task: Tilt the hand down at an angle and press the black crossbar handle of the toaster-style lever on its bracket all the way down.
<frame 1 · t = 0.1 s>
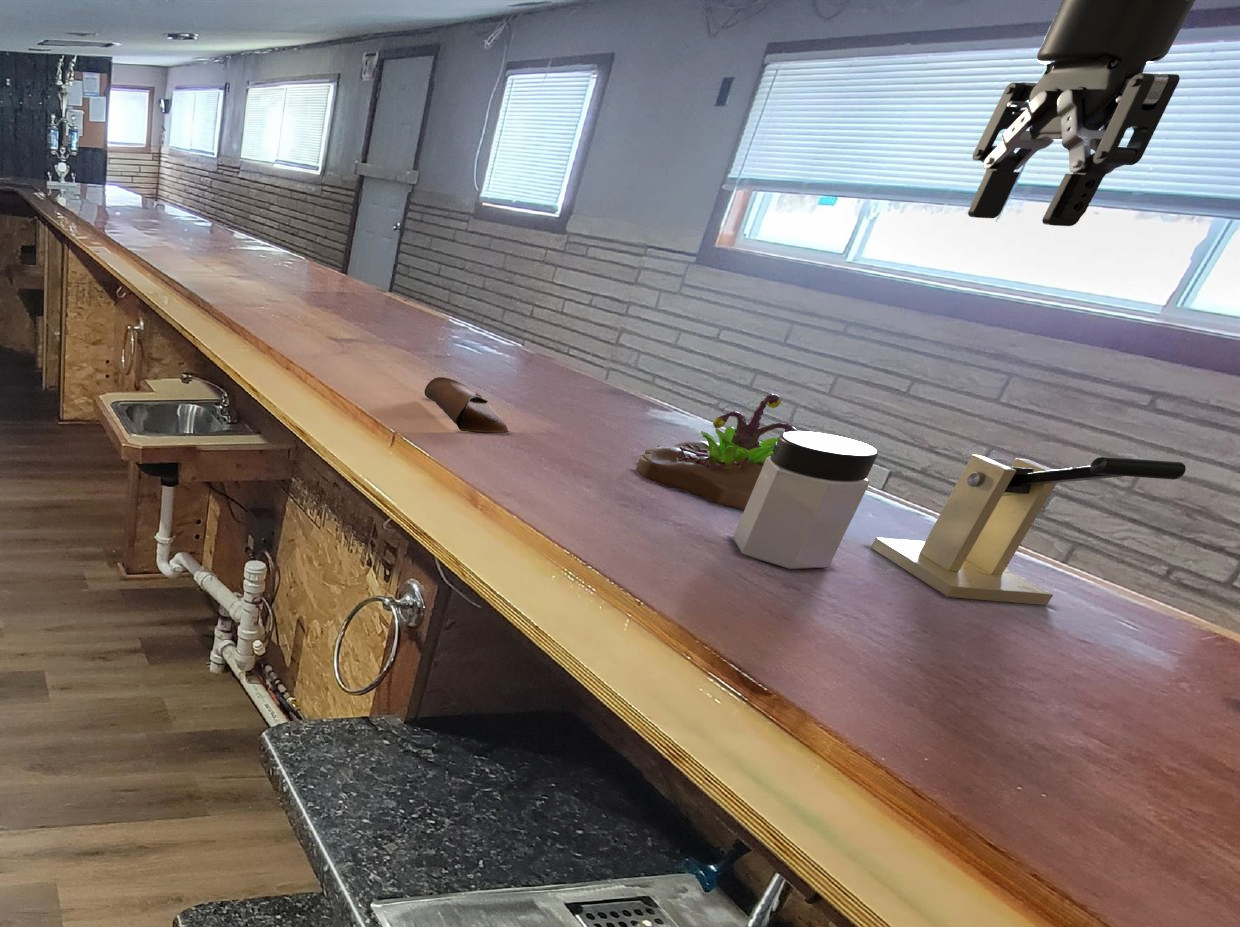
hand: (1017, 221, 77), 32 cm above the counter, tool pointing down, fingers open, 8 cm apart
lever: (1063, 475, 81), point 12 cm above the counter, hinge at 25.0°
sunglasses case: (463, 417, 137), on the counter
bracket: (953, 574, 91), on the counter
plant: (731, 485, 114), on the counter
jar: (777, 555, 94), on the counter
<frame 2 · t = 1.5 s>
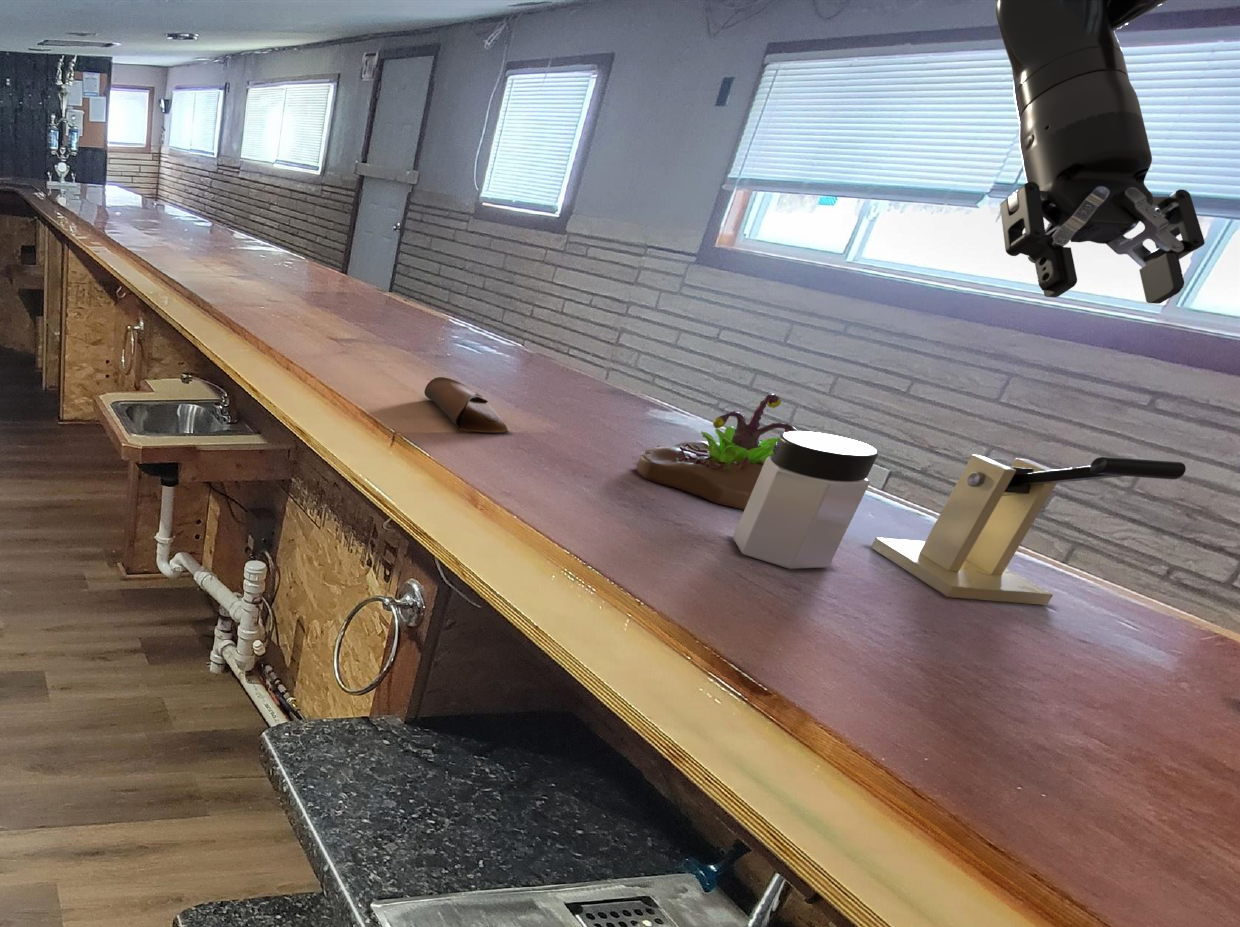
hand: (1113, 294, 78), 27 cm above the counter, tool tilted 45°, fingers open, 8 cm apart
nothing on the counter moved.
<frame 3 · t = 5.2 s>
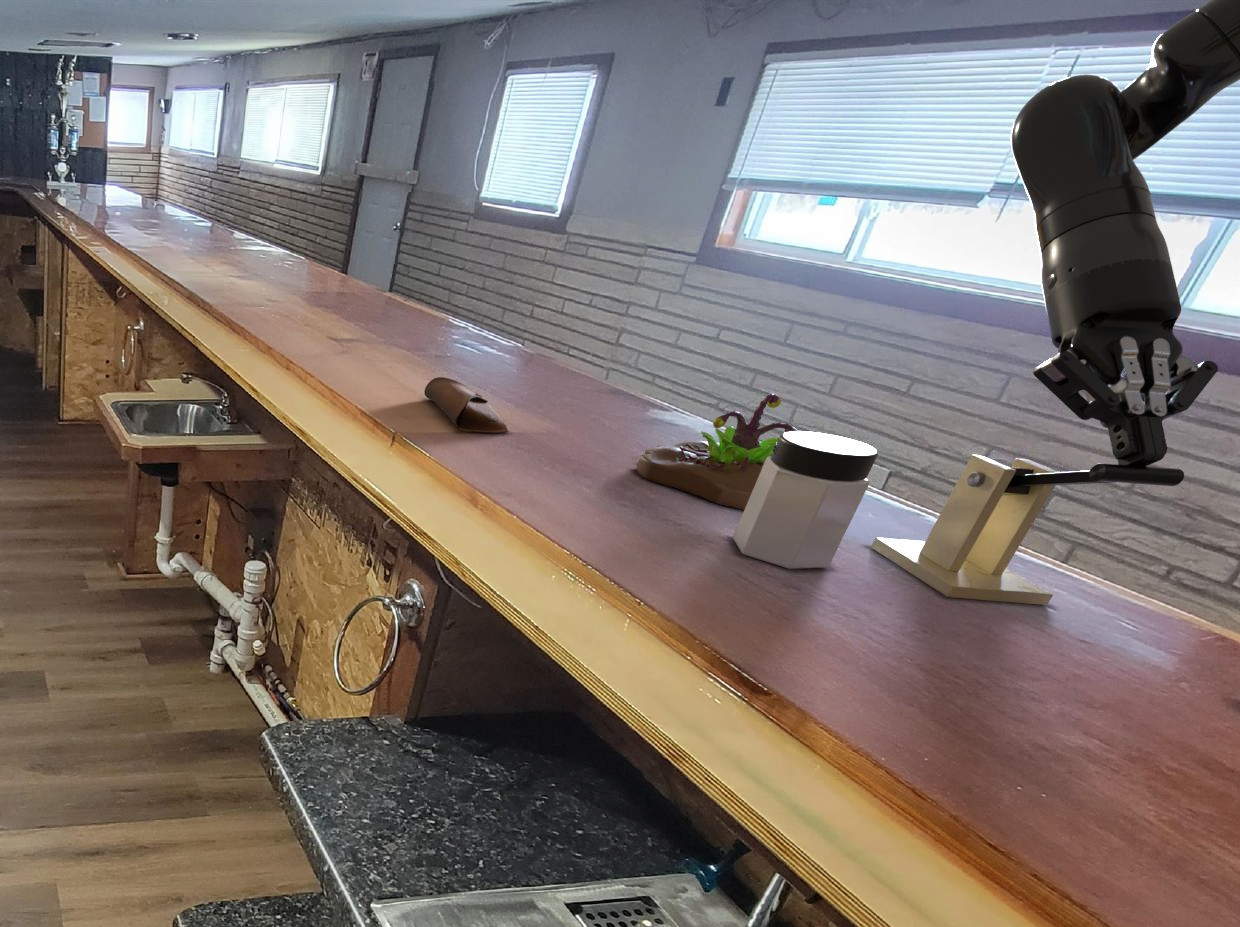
hand: (1142, 462, 74), 16 cm above the counter, tool tilted 45°, fingers closed
lever: (1062, 478, 81), point 12 cm above the counter, hinge at 22.3°, touching gripper
everything else where it was.
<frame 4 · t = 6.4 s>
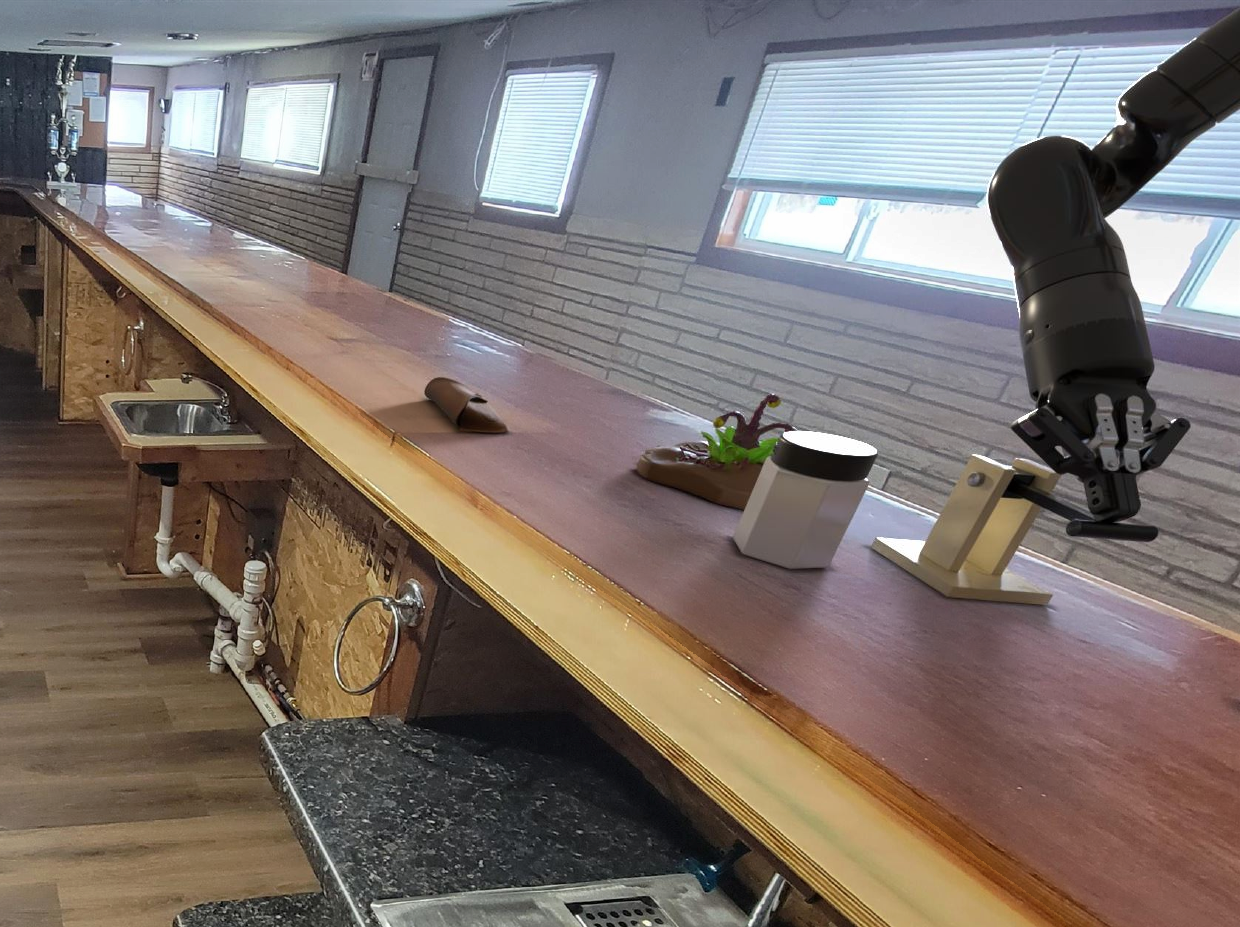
hand: (1117, 518, 76), 11 cm above the counter, tool tilted 45°, fingers closed
lever: (1052, 503, 82), point 10 cm above the counter, hinge at -0.7°, touching gripper
everything else where it was.
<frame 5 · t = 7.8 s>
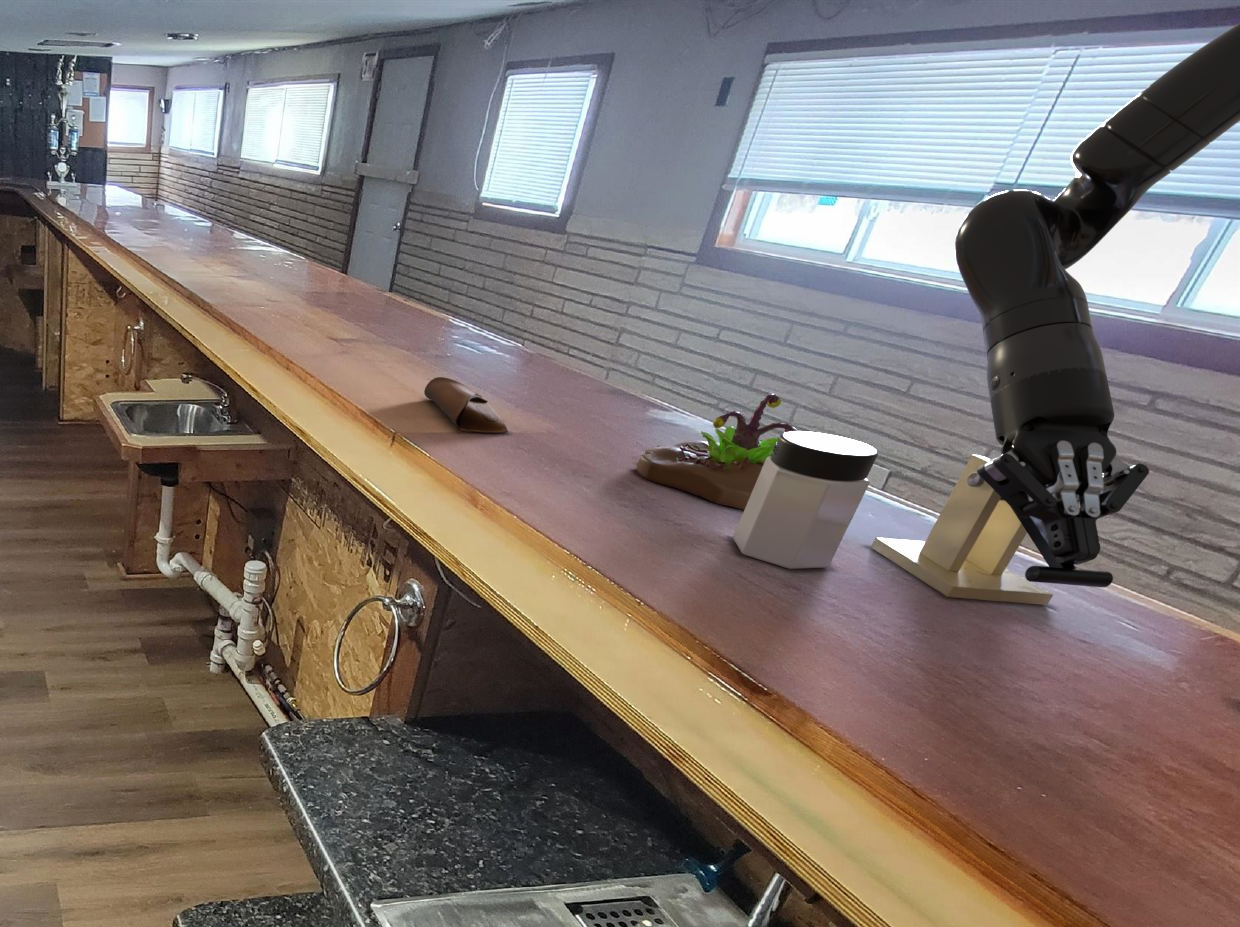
hand: (1077, 561, 79), 7 cm above the counter, tool tilted 45°, fingers closed
lever: (1034, 524, 83), point 8 cm above the counter, hinge at -24.4°, touching gripper
everything else where it was.
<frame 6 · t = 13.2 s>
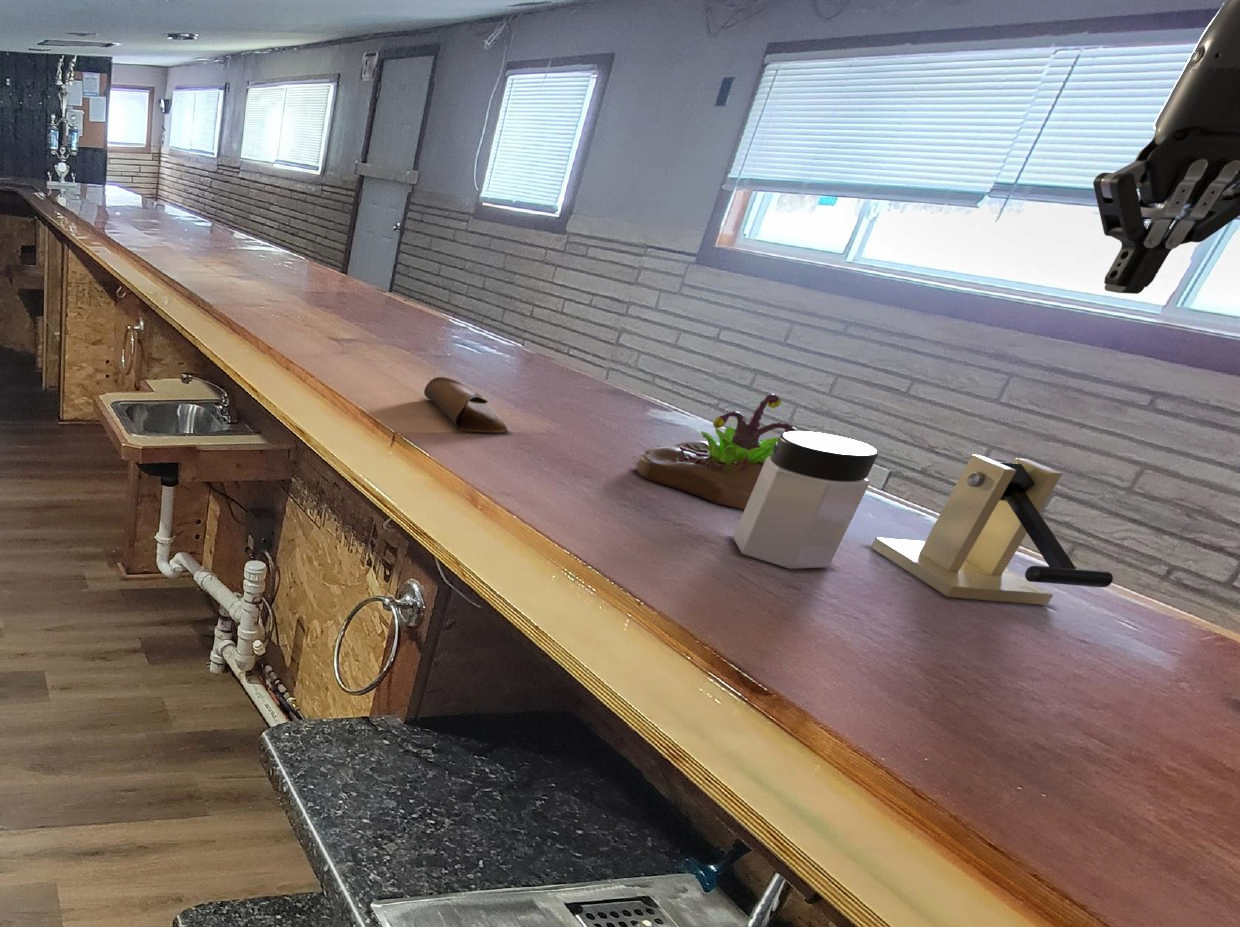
hand: (1121, 292, 81), 27 cm above the counter, tool pointing down, fingers closed
lever: (1034, 524, 83), point 8 cm above the counter, hinge at -24.5°
everything else where it was.
at the end: lever at -24° (first picture: +25°); jar moved 0.2 cm from its start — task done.
